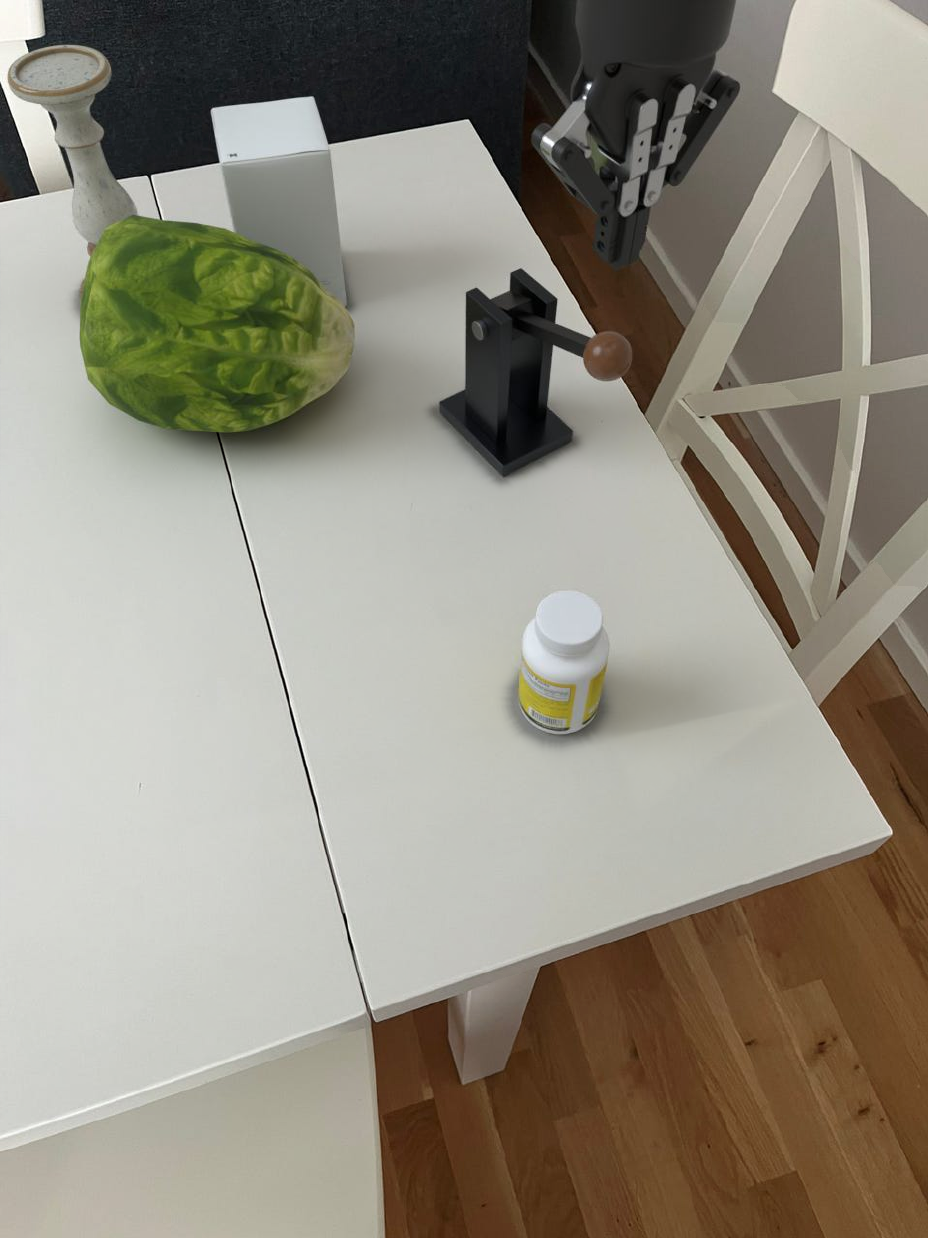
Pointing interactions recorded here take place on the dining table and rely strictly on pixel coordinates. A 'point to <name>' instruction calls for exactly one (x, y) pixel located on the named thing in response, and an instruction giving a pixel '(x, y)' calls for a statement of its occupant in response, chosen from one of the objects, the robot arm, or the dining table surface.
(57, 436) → the dining table surface
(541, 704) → the supplement bottle
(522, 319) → the lever
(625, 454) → the dining table surface
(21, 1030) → the dining table surface
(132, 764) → the dining table surface
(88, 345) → the lettuce
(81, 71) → the candle holder
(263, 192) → the rectangular carton
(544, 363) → the bracket
